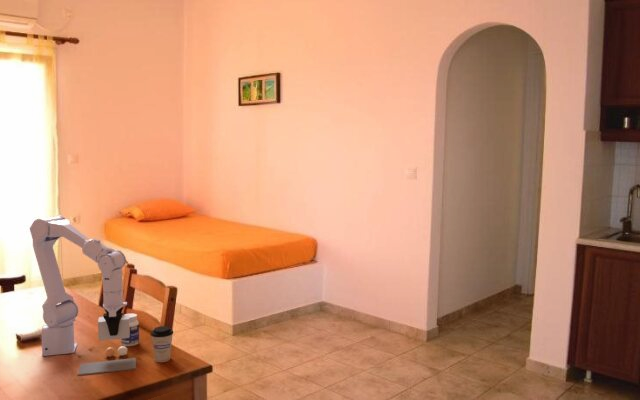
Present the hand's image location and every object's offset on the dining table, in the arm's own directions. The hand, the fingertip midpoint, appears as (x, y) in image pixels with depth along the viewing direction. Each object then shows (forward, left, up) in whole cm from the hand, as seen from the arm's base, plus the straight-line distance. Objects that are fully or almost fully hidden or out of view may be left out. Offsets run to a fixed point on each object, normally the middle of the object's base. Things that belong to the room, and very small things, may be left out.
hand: (114, 332), depth 169 cm
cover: (0, 0, -1) cm, 1 cm away
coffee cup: (+14, -5, -9) cm, 18 cm away
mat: (-2, -7, -8) cm, 11 cm away
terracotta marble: (-2, +2, -8) cm, 9 cm away
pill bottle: (+4, +12, -9) cm, 15 cm away
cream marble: (+2, +2, -8) cm, 9 cm away
